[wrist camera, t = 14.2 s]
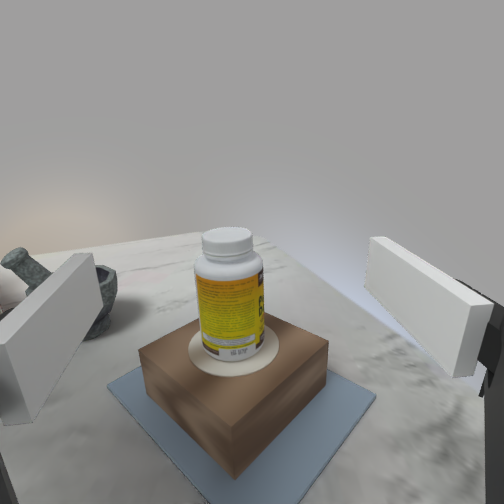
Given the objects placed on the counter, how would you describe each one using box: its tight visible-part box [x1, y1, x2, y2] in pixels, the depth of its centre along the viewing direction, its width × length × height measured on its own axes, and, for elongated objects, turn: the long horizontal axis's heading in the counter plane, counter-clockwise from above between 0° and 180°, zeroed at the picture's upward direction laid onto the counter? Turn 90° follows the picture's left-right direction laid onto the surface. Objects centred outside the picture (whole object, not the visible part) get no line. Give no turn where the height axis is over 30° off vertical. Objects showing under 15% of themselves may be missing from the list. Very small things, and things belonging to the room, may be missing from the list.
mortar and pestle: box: [0, 247, 117, 341], centre depth 39 cm, size 11×9×12 cm
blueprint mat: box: [107, 366, 376, 504], centre depth 30 cm, size 20×16×1 cm
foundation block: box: [138, 312, 329, 480], centre depth 29 cm, size 12×12×5 cm
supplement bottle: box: [194, 227, 265, 361], centre depth 27 cm, size 6×6×10 cm
